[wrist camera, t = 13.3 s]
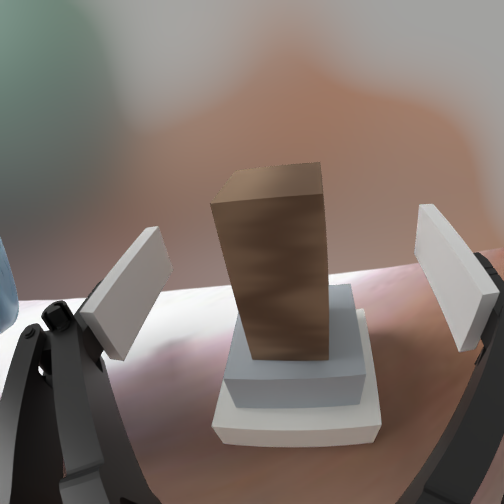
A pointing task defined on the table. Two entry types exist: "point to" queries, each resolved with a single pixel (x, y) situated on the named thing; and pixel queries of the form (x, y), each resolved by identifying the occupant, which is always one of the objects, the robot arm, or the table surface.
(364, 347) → the tower base
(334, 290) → the tower top
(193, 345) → the table surface
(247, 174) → the walnut block
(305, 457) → the table surface
